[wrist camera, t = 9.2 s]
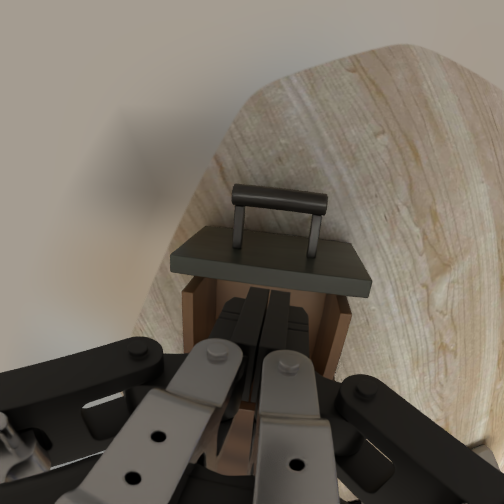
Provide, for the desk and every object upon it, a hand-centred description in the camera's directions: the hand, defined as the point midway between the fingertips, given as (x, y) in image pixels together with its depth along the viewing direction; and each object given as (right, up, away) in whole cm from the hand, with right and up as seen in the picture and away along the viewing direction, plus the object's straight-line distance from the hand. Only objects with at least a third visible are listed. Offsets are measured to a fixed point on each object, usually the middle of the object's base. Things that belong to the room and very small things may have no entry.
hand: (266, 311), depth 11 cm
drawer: (+1, -1, +15) cm, 15 cm away
